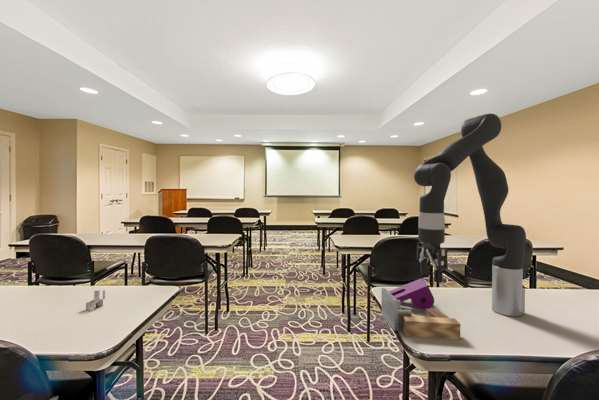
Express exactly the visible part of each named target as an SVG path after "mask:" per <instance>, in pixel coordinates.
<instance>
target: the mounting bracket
mask: <svg viewBox="0 0 599 400" xmlns="http://www.w3.org/2000/svg"><path fill="white" fill-rule="evenodd" d="M388 291H389V292H390V293H391V294H392V295H393V296H394V297H395V298H396V299H397V300H400V301H401V303H402V302H405V301H407V300H409V299H410V301H411V302H412V304H413V305H414V307H416V309H418V310H420V309H422V310H424V311H426V309H431V308H433V306H434V303H435V298H434V297H435V296H434V295H433V293H432V291H431V289H430V286H429V285H428V284H427V283H426V282H425V281H424V280H423V279H422V278H418V279H415V280H414V281H410V282H408V283H406V284H403V285H401V286H399V287H397V288H394V289H391V290H388Z"/></svg>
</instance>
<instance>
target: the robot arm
mask: <svg viewBox="0 0 599 400" xmlns="http://www.w3.org/2000/svg"><path fill="white" fill-rule="evenodd" d="M501 131H502V122H501V119H500V117H499V116H498V115H497V114H495V113H485V114H481V115H478V116H475V117H471V118H467V119H465V120H464V121H462V123H461V127H460V132H461V133H460V134H461V136H462V137H461V138H459V139H457V140H454V141H453V142H452V143H450V144H448V145H446V147H444V149H441V151H440V152H439V153H438V154H437V155H435V156H433V157H431V158H429V159H427V160H426V161H424V162H422V163H420V164H419V165H418V166H417V167H416V169H415V171H414V174H413V179H414V181H415V183H416V184H417V185H418V186H421V187H431V188H430V191H429V192H426V193H424V194H421V195H420V197H419V206H418V207H419V210H418V211H419V214H418V232H417V233H418V234H417V235H418V237H417V238H418V242H416V260H418V261H419V263H420V274H421V275H425V276H427V275H428V274H429V263H428V262H430V264H432V266H433V282H434V283H443V271H444V270H445V271H446V270H447V271H448V269H449V265H448V249H446V248H441V247H442V246H441V244H444V243H445V240H446V239H445V238H446V237H445V233H446V232H445V230H446V225H445V224H446V219H445V198H446V195H447V193H448V188H449V185H450V182H451V178H452V172H453V171H454V170H455V169H456V168H458V166H460V165H461V164H462V163H463V162H464V161H465V160H466V159H467V158H468V157H469V159H470V163H471V166H472V171H473V174H474V178H475V179H474V180H475V182H476V187H477V192H478V194H479V198H480V202H481V206H482V211H483V217H484V223H485V230H486V231H485V232H486V236H487V240H488V242H489V243H490V245H492V246H493V247H495V248H501V249H506V252H505V254H504V255H500V256H494V257H493V258H492V264H491V265H492V267H491V270H492V271H491V274H492V276H491V309H492V311H494V313H497V314H501V315H504V316H507V317H521V316H522V315H525V314H526V313H525V312H526V311H525V310H526V309H525V308H526V307H525V306H526V303H525V302H526V289H525V288H524V287H523V285H524V284H523V283H524V282H523V272H524V271H523V270H524V262H525V255H526V245H527V235H526V231H525V228H524V227H523V226H521V225H517V224H509V223H508V224H507V223H503V221H502V217H501V210H502V207H503V205H504V203H505V201H506V199H507V197H508V194H509V185H508V180H507V177H506V174H505V172H504V170H503V169H502V168H501V166H499V165H498V164H497V163H496V162H495V161H494V160H493V159H492V158H490V156H488V154H487V153H486V151H485V149H484V146H485V145H486V144H487V143H490V142H491V141H492V140H495V139H496V138H497V137H499V135H500V133H501Z"/></svg>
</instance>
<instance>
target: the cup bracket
mask: <svg viewBox="0 0 599 400" xmlns="http://www.w3.org/2000/svg"><path fill="white" fill-rule="evenodd" d="M389 291H390V290H388V289H386V288H385V287H384V288H383V287H382V288H381V316H382V318H383V319H384V320H385V321H386V323H387V324H388V326H390V327H391V329H392V330H393V331H394V332H399V331H400V330H403V315H406V316H413V312H412V309H401V307H402V306H401V305H402V304H401V303H402V302H401V301H400V300H397V299H396V298H395V297H394V296H393V295H392V294H391V293H390V292H389Z"/></svg>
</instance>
